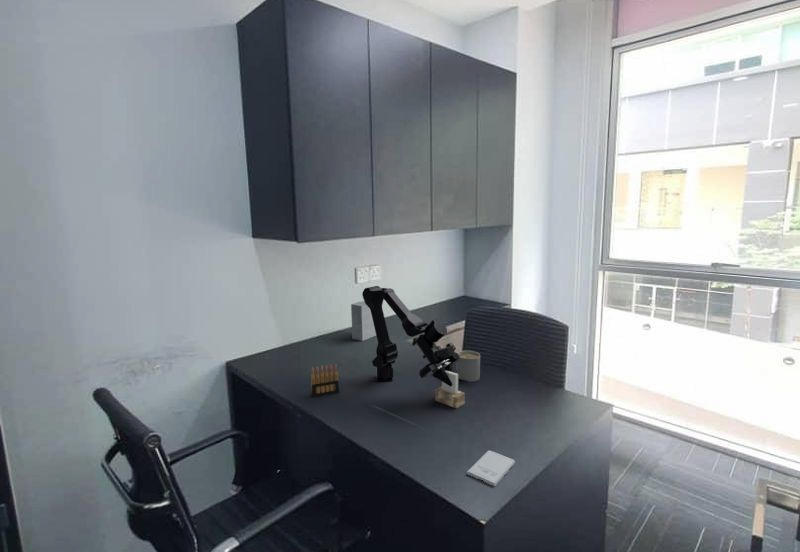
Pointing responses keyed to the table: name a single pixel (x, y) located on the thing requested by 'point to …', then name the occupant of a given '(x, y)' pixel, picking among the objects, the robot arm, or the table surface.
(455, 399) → the oak box
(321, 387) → the ammunition clip
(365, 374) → the table surface
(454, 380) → the cover plate
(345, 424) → the table surface
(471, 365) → the coffee mug
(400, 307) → the robot arm
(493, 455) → the external hard drive
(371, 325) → the hard drive box
